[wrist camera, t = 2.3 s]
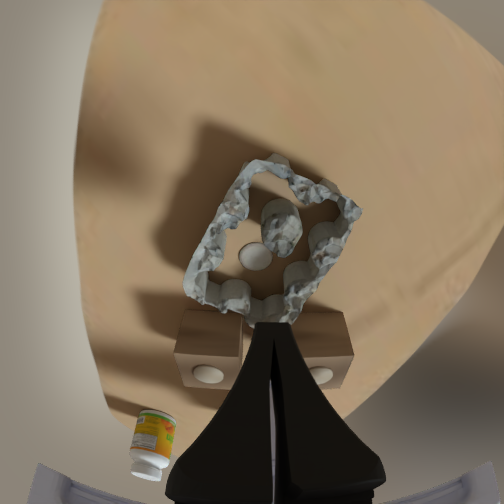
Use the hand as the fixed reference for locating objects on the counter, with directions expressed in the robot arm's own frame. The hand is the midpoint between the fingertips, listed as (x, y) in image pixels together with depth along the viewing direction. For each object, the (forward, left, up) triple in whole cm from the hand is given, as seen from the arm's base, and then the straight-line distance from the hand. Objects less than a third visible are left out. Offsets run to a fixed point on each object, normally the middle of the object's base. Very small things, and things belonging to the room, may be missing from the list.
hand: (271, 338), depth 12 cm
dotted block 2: (-9, -4, -8) cm, 13 cm away
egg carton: (0, 0, -9) cm, 9 cm away
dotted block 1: (-9, +4, -8) cm, 13 cm away
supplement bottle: (-29, +14, -9) cm, 33 cm away
